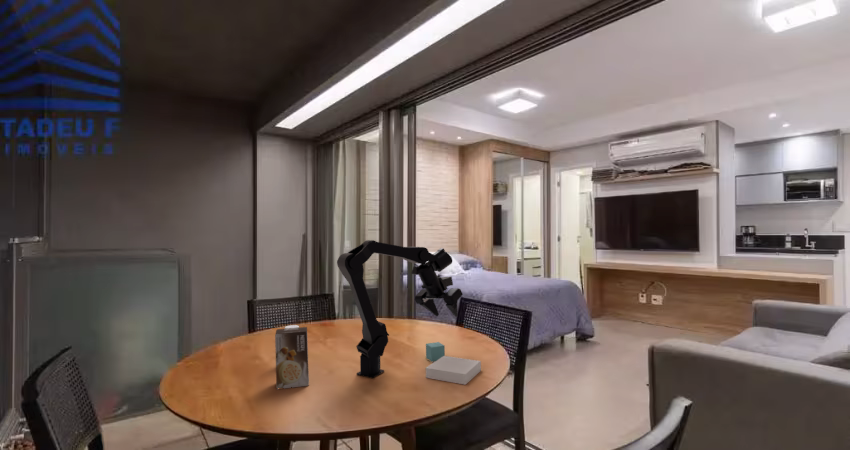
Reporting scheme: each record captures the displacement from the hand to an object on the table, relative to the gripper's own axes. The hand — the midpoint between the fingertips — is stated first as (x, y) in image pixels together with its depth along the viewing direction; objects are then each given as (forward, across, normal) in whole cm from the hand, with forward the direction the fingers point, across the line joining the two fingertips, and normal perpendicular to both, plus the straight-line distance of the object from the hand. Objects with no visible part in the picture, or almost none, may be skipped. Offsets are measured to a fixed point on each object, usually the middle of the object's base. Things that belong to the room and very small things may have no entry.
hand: (447, 315), depth 142 cm
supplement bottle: (-10, +35, +42) cm, 56 cm away
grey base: (+8, -12, +18) cm, 23 cm away
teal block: (+10, +3, +11) cm, 15 cm away
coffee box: (-12, +18, +51) cm, 55 cm away
